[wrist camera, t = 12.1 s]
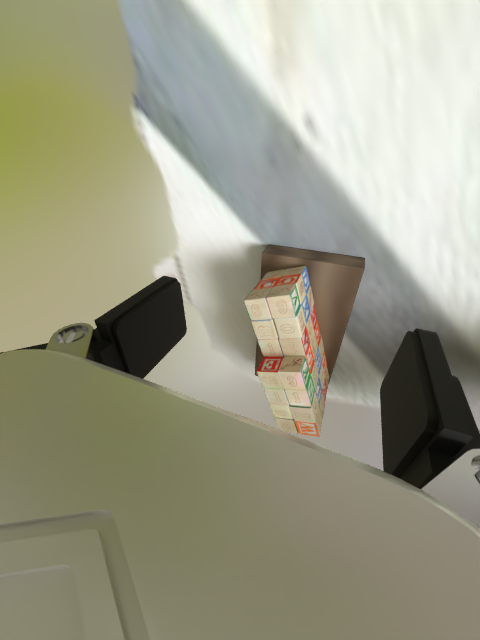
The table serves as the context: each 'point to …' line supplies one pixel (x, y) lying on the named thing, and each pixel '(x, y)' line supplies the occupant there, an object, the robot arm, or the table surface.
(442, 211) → the table surface
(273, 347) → the stack of blocks
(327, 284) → the plinth
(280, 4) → the table surface
